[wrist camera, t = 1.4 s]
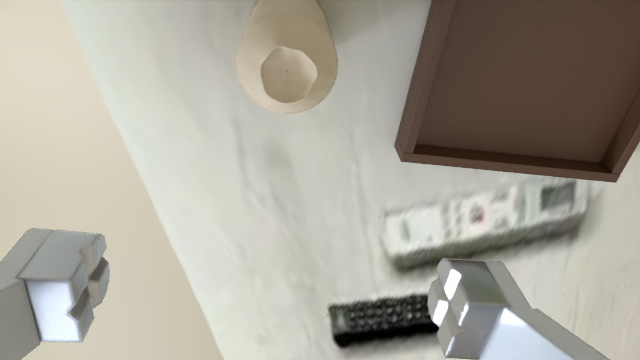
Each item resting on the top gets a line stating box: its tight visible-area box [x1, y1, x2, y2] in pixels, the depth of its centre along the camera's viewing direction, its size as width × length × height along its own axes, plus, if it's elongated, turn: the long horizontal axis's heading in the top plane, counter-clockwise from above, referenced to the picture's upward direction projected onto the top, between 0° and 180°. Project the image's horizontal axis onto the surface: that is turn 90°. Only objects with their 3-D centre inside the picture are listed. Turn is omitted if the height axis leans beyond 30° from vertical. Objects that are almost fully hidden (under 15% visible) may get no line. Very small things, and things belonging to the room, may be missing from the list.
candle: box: [236, 0, 338, 114], centre depth 27 cm, size 6×6×10 cm
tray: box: [395, 0, 640, 183], centre depth 33 cm, size 15×19×3 cm
